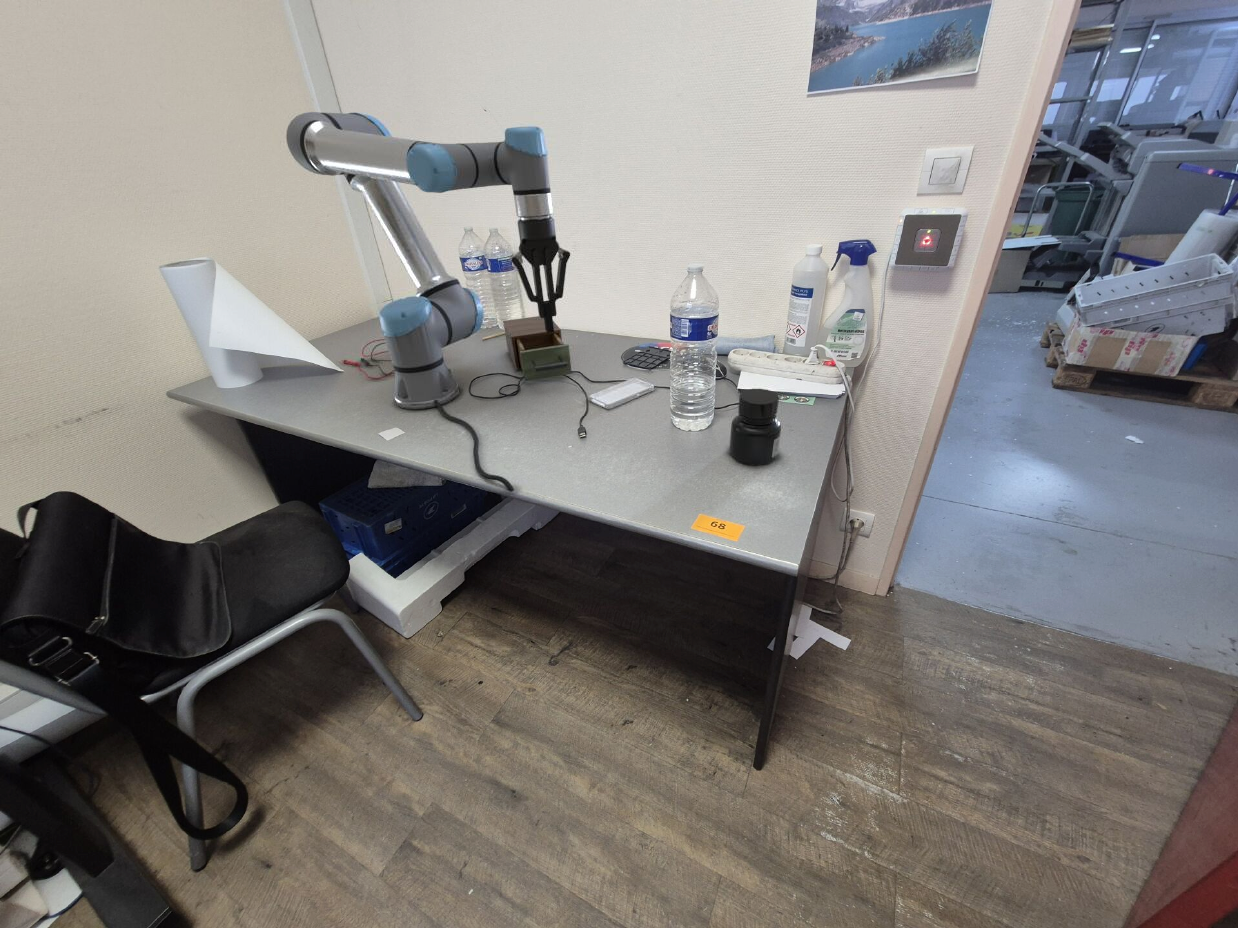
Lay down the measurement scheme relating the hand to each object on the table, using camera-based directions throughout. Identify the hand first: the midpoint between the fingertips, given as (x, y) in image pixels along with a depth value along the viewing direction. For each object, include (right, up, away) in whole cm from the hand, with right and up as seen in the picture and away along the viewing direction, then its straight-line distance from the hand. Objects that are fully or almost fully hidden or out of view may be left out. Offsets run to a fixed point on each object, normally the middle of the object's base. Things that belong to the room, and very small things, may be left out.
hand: (549, 331), depth 115 cm
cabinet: (-9, +1, +32) cm, 33 cm away
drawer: (-4, -6, +20) cm, 21 cm away
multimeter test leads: (-52, 0, +35) cm, 63 cm away
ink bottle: (+42, -29, -19) cm, 54 cm away
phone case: (+17, -14, +6) cm, 23 cm away
